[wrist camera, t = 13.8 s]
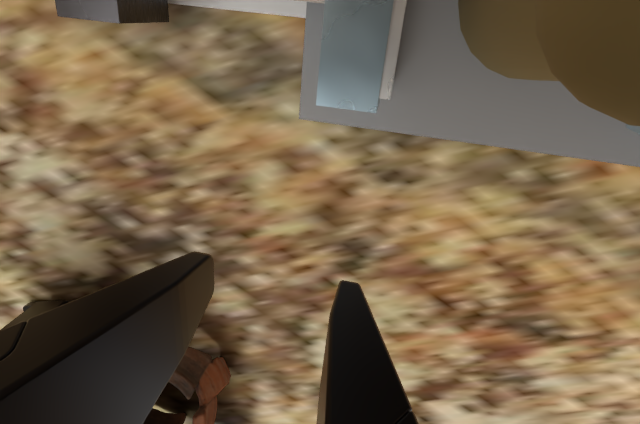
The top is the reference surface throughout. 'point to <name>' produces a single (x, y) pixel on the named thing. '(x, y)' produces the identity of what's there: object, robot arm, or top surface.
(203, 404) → the brown twisted loop knot
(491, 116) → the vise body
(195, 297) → the robot arm
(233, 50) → the top surface
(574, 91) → the cork
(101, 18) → the vise jaw
